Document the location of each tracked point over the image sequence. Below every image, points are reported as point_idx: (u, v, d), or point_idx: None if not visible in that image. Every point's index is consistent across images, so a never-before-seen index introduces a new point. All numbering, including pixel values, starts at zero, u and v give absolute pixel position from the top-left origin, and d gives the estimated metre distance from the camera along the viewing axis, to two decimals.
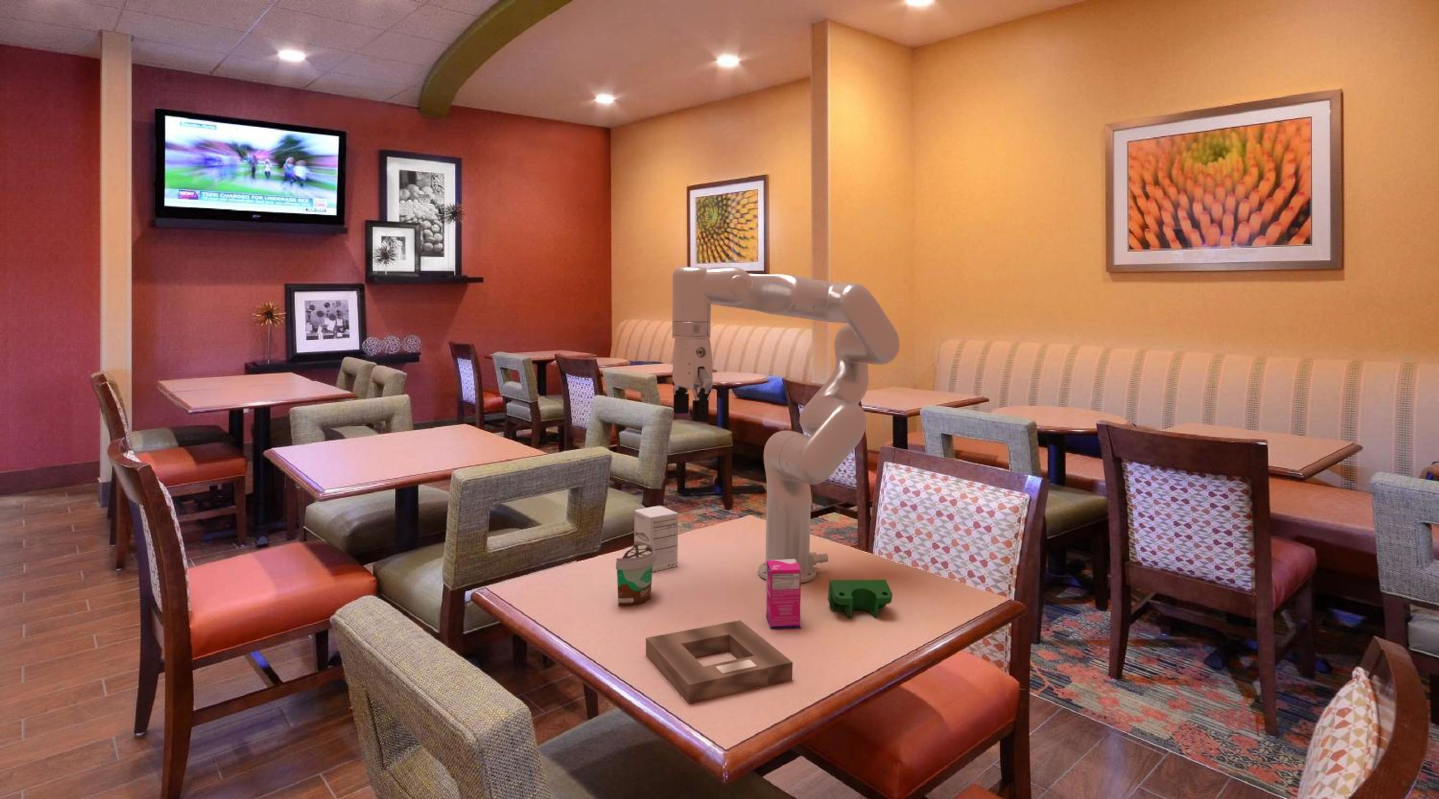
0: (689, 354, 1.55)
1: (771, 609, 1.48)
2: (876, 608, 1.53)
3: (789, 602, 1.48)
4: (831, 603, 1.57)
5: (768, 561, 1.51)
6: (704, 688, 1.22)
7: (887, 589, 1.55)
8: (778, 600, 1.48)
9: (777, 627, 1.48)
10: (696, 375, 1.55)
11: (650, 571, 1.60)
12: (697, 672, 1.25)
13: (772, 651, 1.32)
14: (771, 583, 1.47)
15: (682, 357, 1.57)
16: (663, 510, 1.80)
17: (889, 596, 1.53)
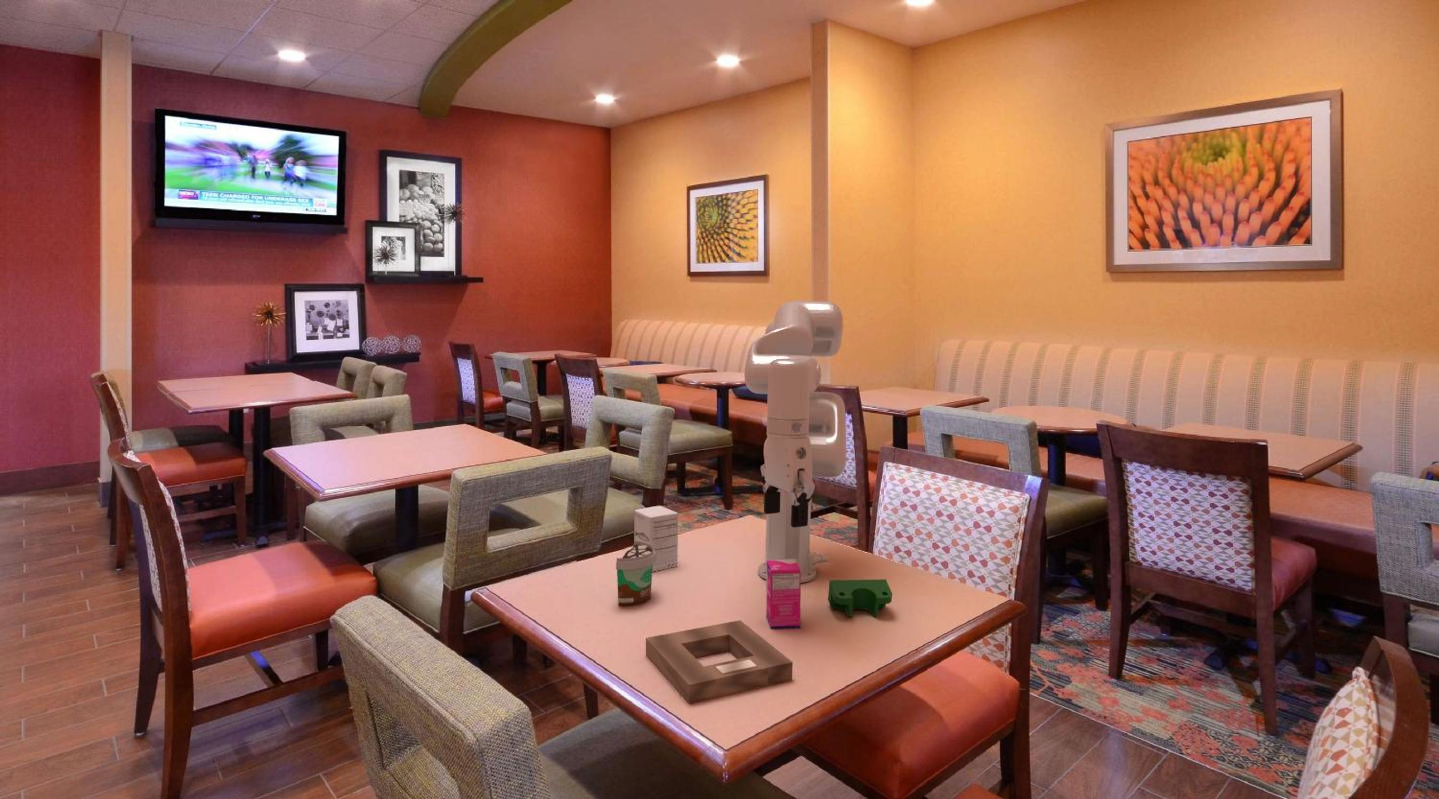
0: (788, 455, 1.42)
1: (771, 609, 1.48)
2: (876, 608, 1.54)
3: (789, 602, 1.48)
4: (831, 603, 1.57)
5: (768, 561, 1.51)
6: (704, 688, 1.22)
7: (887, 589, 1.55)
8: (778, 600, 1.48)
9: (777, 627, 1.48)
10: (796, 478, 1.42)
11: (650, 571, 1.60)
12: (697, 672, 1.25)
13: (772, 651, 1.32)
14: (771, 583, 1.47)
15: (779, 457, 1.44)
16: (663, 510, 1.80)
17: (889, 596, 1.53)
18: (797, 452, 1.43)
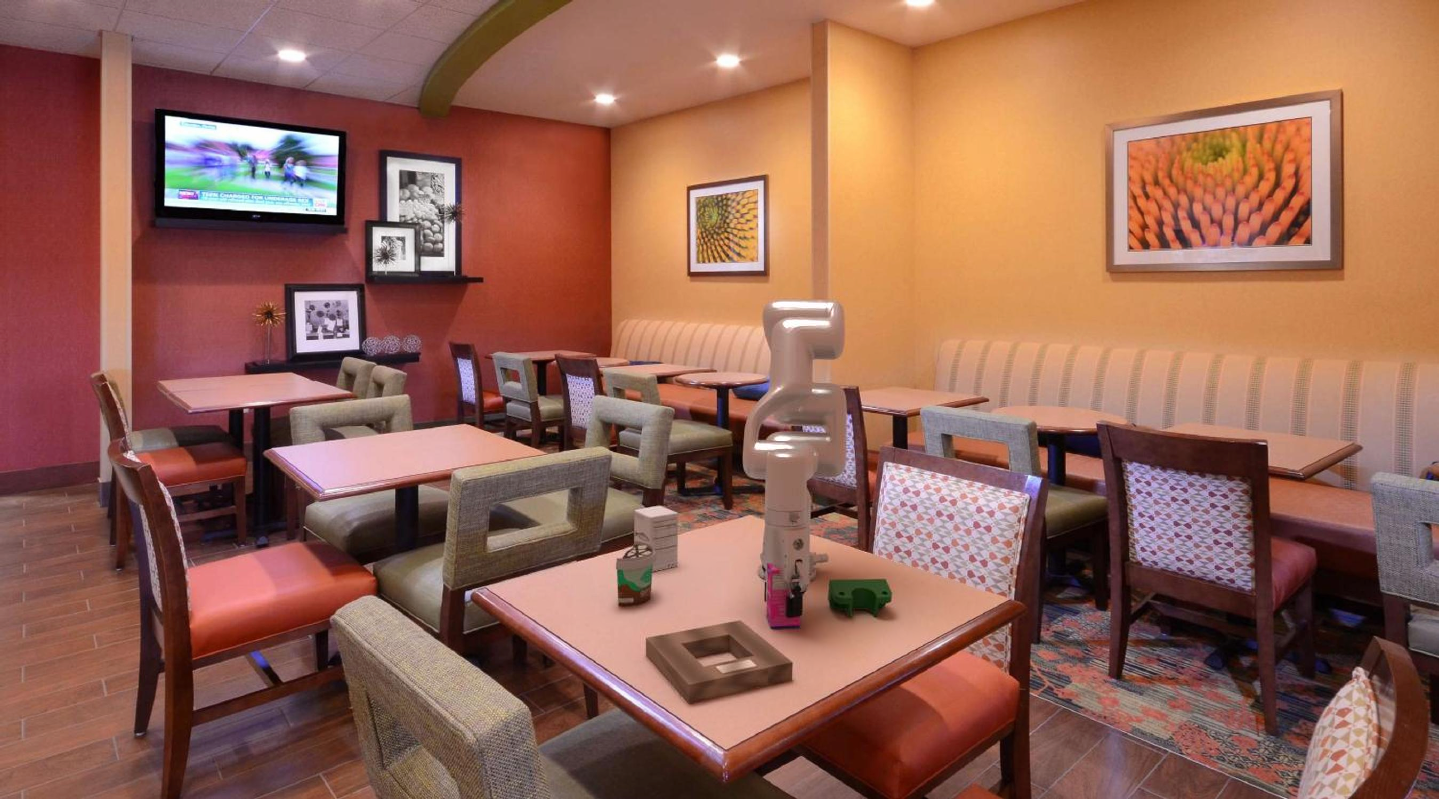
0: (785, 546, 1.45)
1: (771, 609, 1.48)
2: (876, 607, 1.54)
3: None
4: (831, 602, 1.57)
5: None
6: (704, 688, 1.22)
7: (887, 588, 1.56)
8: (778, 600, 1.48)
9: (777, 627, 1.48)
10: (793, 569, 1.45)
11: (650, 571, 1.60)
12: (697, 672, 1.25)
13: (772, 651, 1.32)
14: (771, 583, 1.47)
15: (776, 547, 1.47)
16: (663, 510, 1.80)
17: (889, 595, 1.53)
18: (794, 543, 1.45)
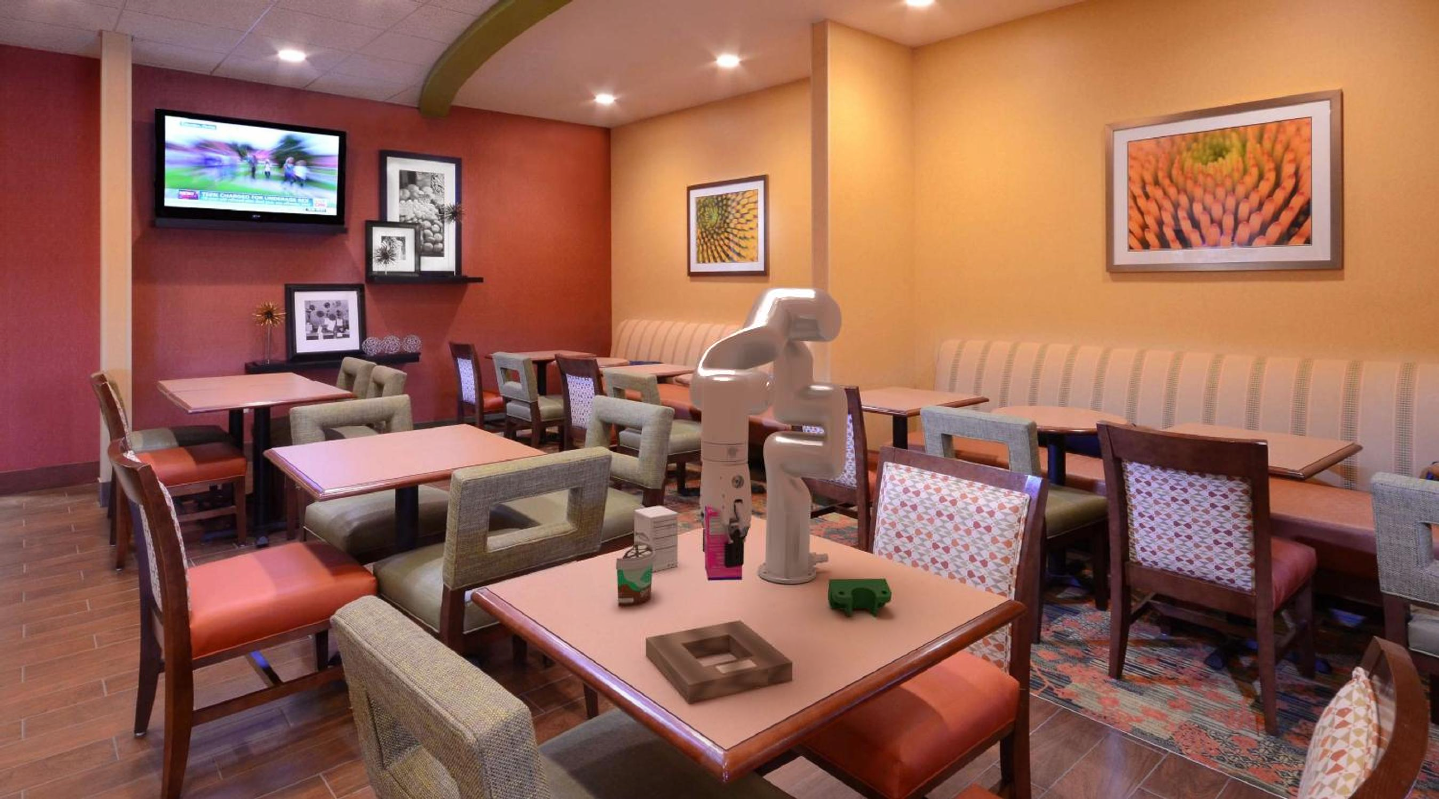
0: (723, 484, 1.26)
1: (708, 557, 1.29)
2: (876, 607, 1.54)
3: None
4: (831, 602, 1.58)
5: None
6: (704, 688, 1.22)
7: (886, 588, 1.56)
8: (715, 547, 1.28)
9: (715, 578, 1.29)
10: (732, 510, 1.26)
11: (650, 571, 1.60)
12: (697, 672, 1.25)
13: (772, 651, 1.32)
14: (708, 527, 1.28)
15: (714, 486, 1.28)
16: (663, 510, 1.80)
17: (888, 595, 1.54)
18: (734, 480, 1.26)
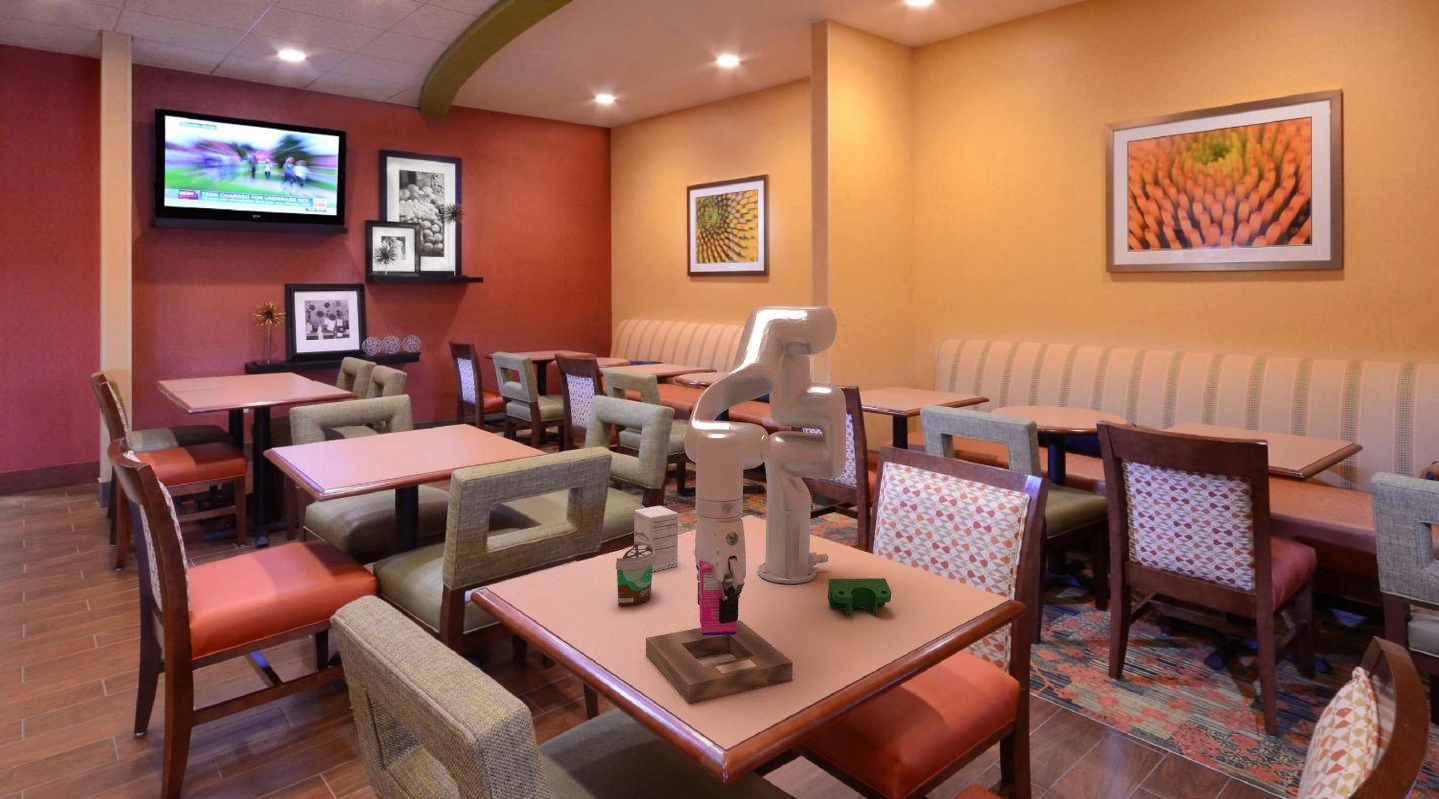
0: (717, 541, 1.26)
1: (702, 613, 1.29)
2: (875, 607, 1.54)
3: None
4: (831, 602, 1.58)
5: None
6: (704, 688, 1.22)
7: (886, 588, 1.56)
8: (710, 603, 1.29)
9: (710, 633, 1.29)
10: (726, 567, 1.26)
11: (650, 571, 1.60)
12: (697, 672, 1.25)
13: (772, 651, 1.32)
14: (702, 583, 1.28)
15: (708, 541, 1.28)
16: (663, 510, 1.80)
17: (888, 595, 1.54)
18: (728, 537, 1.26)
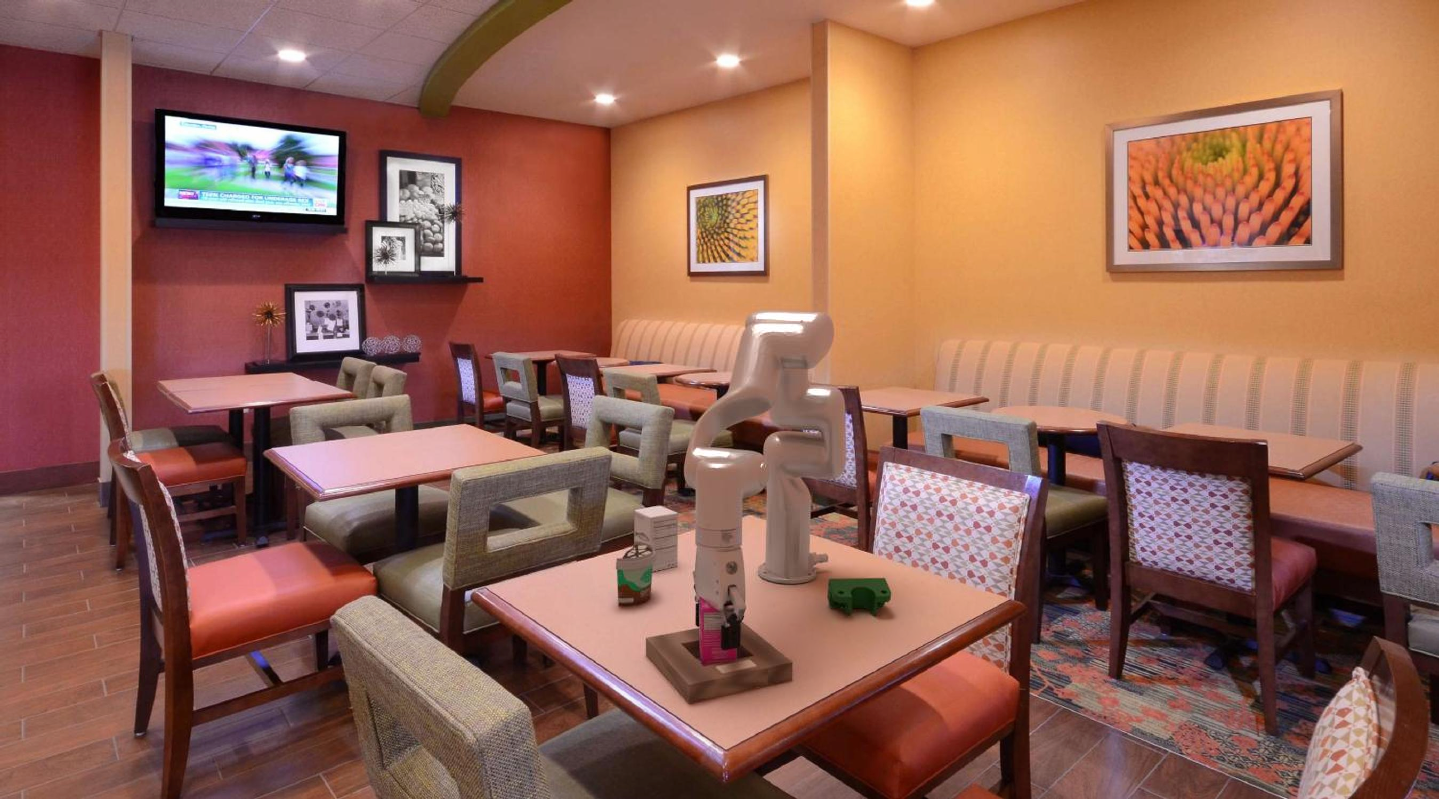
0: (717, 570, 1.26)
1: (703, 652, 1.30)
2: (875, 606, 1.54)
3: None
4: (831, 601, 1.58)
5: None
6: (704, 688, 1.22)
7: (886, 587, 1.56)
8: (710, 643, 1.30)
9: None
10: (726, 596, 1.26)
11: (650, 571, 1.60)
12: (697, 672, 1.25)
13: (772, 651, 1.32)
14: (702, 623, 1.29)
15: (708, 570, 1.28)
16: (663, 510, 1.80)
17: (888, 594, 1.54)
18: (727, 566, 1.27)
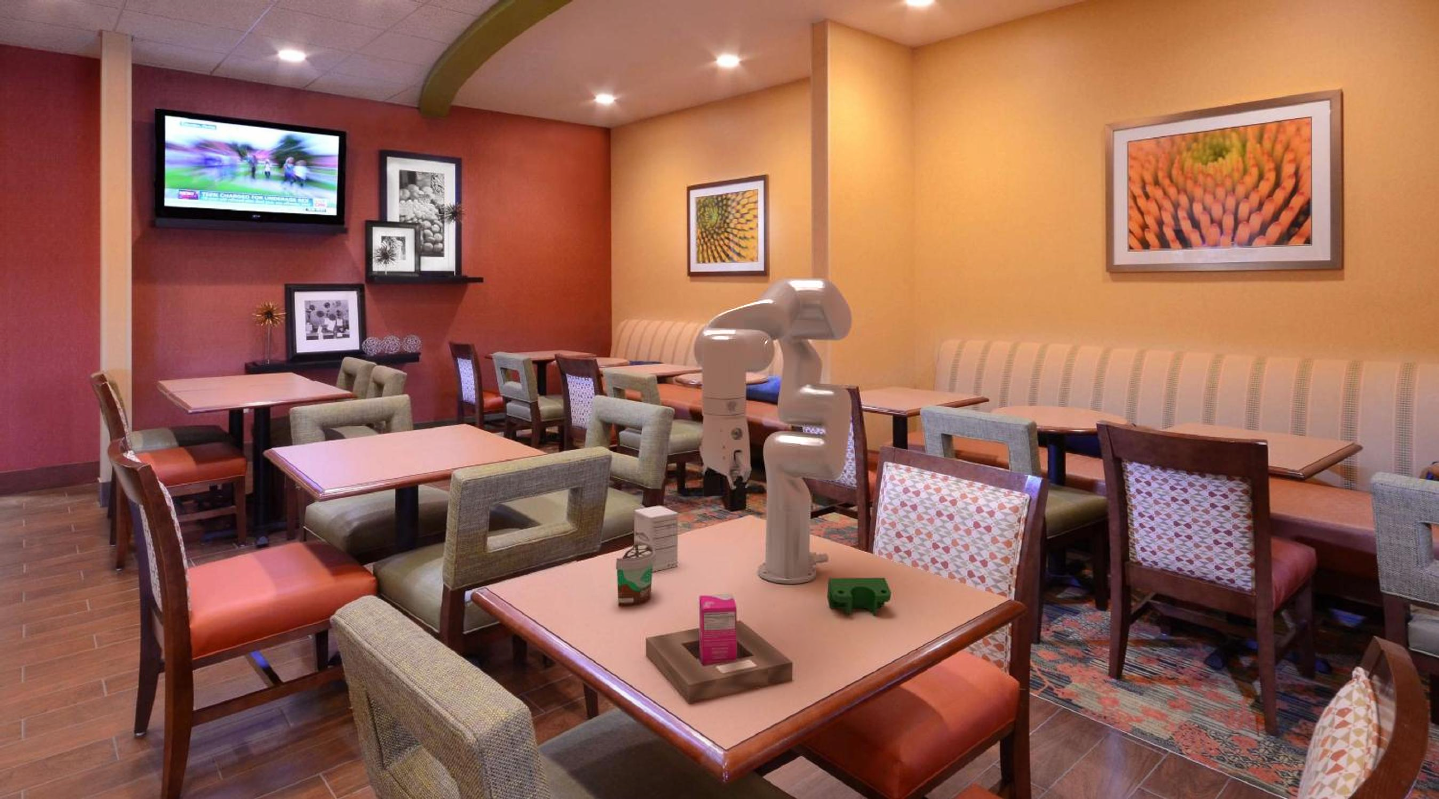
0: (723, 436, 1.34)
1: (703, 652, 1.30)
2: (875, 606, 1.54)
3: (724, 644, 1.30)
4: (830, 601, 1.58)
5: (701, 597, 1.33)
6: (704, 688, 1.22)
7: (886, 587, 1.56)
8: (710, 643, 1.30)
9: None
10: (732, 460, 1.35)
11: (650, 571, 1.60)
12: (697, 672, 1.25)
13: (772, 651, 1.32)
14: (703, 623, 1.29)
15: (714, 438, 1.37)
16: (663, 510, 1.80)
17: (888, 594, 1.54)
18: (733, 433, 1.35)
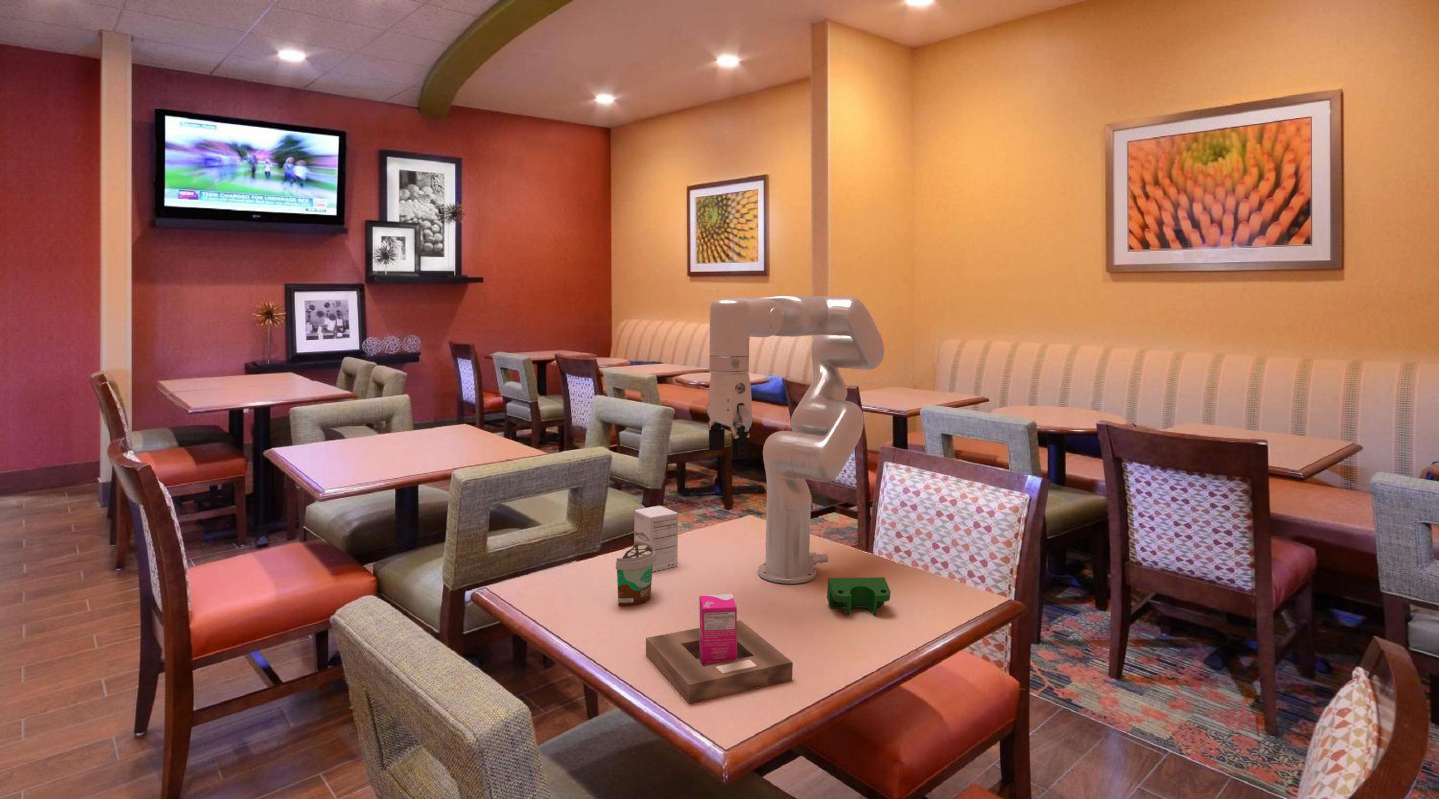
0: (728, 390, 1.49)
1: (703, 652, 1.30)
2: (875, 605, 1.55)
3: (724, 644, 1.30)
4: (830, 601, 1.58)
5: (701, 597, 1.33)
6: (704, 688, 1.22)
7: (885, 587, 1.56)
8: (710, 643, 1.30)
9: None
10: (735, 412, 1.49)
11: (650, 571, 1.60)
12: (697, 672, 1.25)
13: (772, 651, 1.32)
14: (703, 623, 1.29)
15: (720, 393, 1.51)
16: (663, 510, 1.80)
17: (887, 594, 1.54)
18: (737, 387, 1.50)
